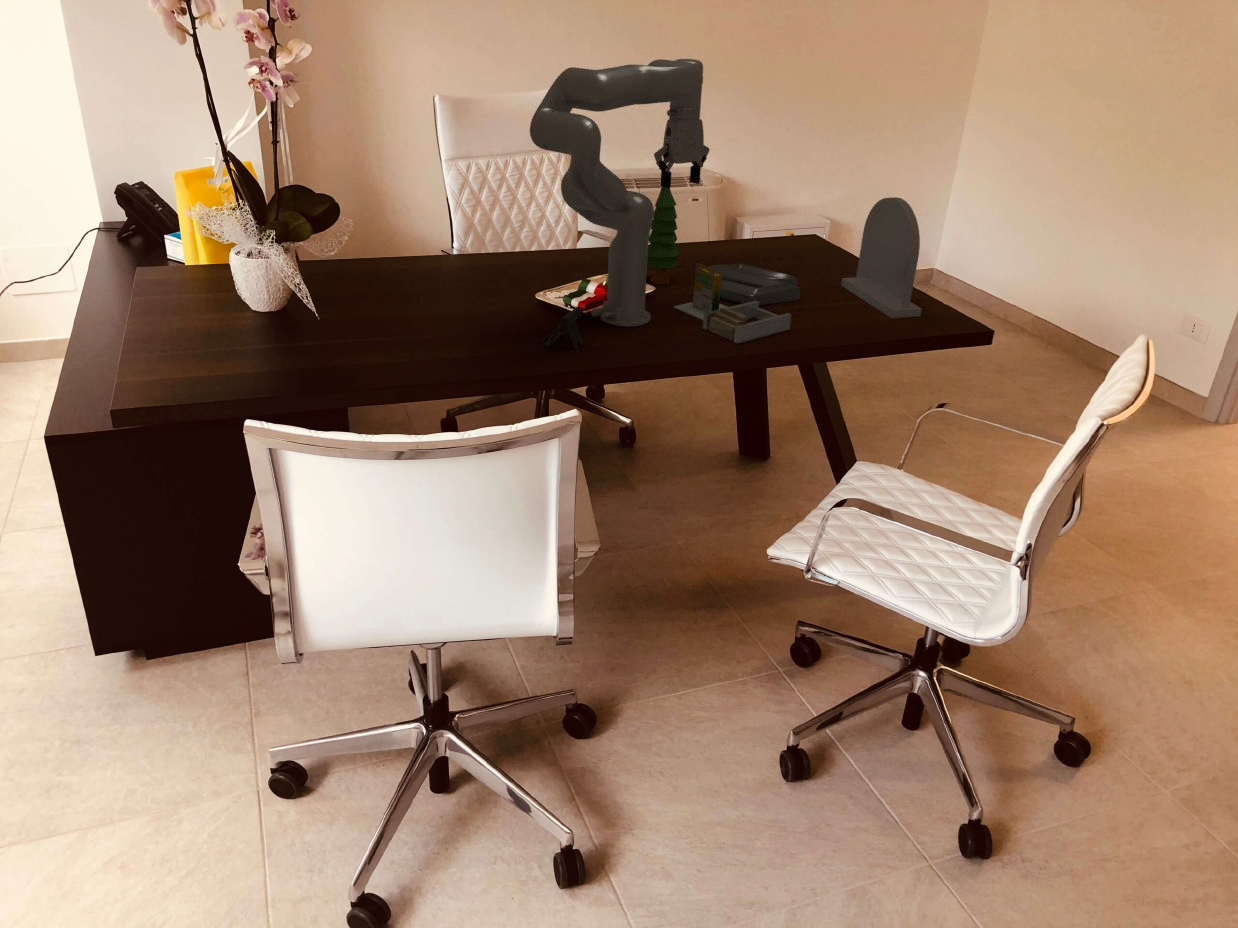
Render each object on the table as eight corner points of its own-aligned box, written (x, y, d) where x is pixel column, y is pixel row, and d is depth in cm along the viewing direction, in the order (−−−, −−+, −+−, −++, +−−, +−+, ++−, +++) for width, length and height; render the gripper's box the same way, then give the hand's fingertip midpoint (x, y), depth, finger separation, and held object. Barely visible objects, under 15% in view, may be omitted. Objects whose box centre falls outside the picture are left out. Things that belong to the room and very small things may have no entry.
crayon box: (719, 312, 250) (723, 268, 245) (710, 314, 249) (714, 270, 243) (700, 304, 255) (704, 261, 250) (692, 306, 254) (695, 262, 248)
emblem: (696, 285, 255) (700, 256, 279) (695, 305, 257) (699, 274, 282) (803, 292, 252) (798, 262, 277) (801, 312, 255) (795, 281, 279)
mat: (704, 321, 245) (704, 319, 245) (673, 307, 253) (673, 306, 253) (738, 312, 251) (738, 311, 251) (707, 300, 260) (707, 298, 260)
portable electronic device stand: (557, 336, 232) (557, 302, 228) (587, 341, 230) (588, 307, 226) (541, 348, 225) (541, 314, 221) (572, 353, 222) (572, 319, 218)
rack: (737, 343, 231) (738, 328, 230) (702, 328, 240) (703, 313, 238) (789, 329, 241) (791, 314, 239) (754, 315, 250) (755, 300, 248)
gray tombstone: (921, 316, 254) (942, 211, 241) (892, 318, 252) (911, 212, 239) (868, 284, 278) (884, 186, 265) (840, 286, 275) (855, 187, 262)
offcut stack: (731, 341, 233) (733, 319, 231) (709, 331, 239) (711, 310, 236) (745, 337, 236) (747, 316, 233) (722, 328, 241) (724, 307, 239)
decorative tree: (648, 286, 268) (654, 176, 254) (638, 276, 276) (643, 169, 262) (681, 285, 271) (688, 175, 257) (671, 275, 279) (677, 168, 265)
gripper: (667, 118, 229) (663, 191, 237) (721, 114, 239) (715, 184, 247) (647, 114, 234) (644, 185, 242) (700, 109, 244) (695, 179, 252)
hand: (680, 185), depth 244 cm, fingers open, 9 cm apart
